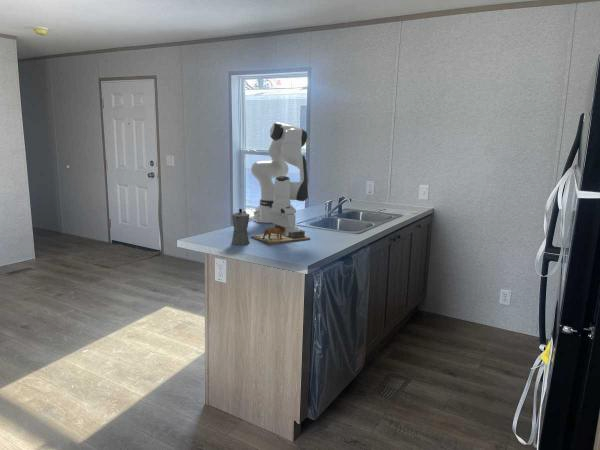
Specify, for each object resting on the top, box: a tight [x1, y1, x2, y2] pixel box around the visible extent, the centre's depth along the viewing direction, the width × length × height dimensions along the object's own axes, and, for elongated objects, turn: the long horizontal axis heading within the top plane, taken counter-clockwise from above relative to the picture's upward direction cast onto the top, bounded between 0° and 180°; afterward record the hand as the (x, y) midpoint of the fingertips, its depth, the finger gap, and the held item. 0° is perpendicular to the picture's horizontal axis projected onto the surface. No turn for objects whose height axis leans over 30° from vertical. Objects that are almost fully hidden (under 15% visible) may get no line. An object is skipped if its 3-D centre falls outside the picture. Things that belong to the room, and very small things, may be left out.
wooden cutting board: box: [250, 229, 311, 246], centre depth 240 cm, size 19×26×4 cm
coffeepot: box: [231, 208, 250, 246], centre depth 227 cm, size 15×9×18 cm, turn 171°
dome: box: [290, 224, 301, 232], centre depth 243 cm, size 6×6×6 cm
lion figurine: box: [262, 225, 285, 240], centre depth 232 cm, size 15×5×9 cm, turn 126°
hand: (281, 234), depth 232 cm, fingers open, 8 cm apart
